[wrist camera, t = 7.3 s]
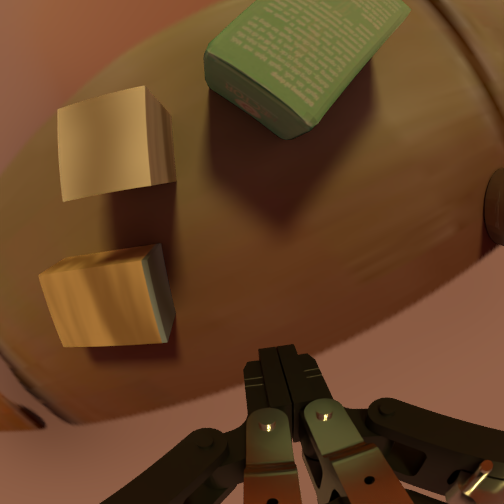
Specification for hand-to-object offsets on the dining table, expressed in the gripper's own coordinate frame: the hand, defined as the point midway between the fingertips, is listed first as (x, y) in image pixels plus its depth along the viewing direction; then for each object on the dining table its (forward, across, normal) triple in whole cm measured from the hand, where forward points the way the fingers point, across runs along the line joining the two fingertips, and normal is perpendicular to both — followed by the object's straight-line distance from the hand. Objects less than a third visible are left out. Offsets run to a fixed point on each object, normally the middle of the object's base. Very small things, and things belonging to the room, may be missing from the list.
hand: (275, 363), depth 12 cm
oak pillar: (+9, +7, 0) cm, 11 cm away
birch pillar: (+11, +7, -10) cm, 17 cm away
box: (+12, -5, -17) cm, 21 cm away
